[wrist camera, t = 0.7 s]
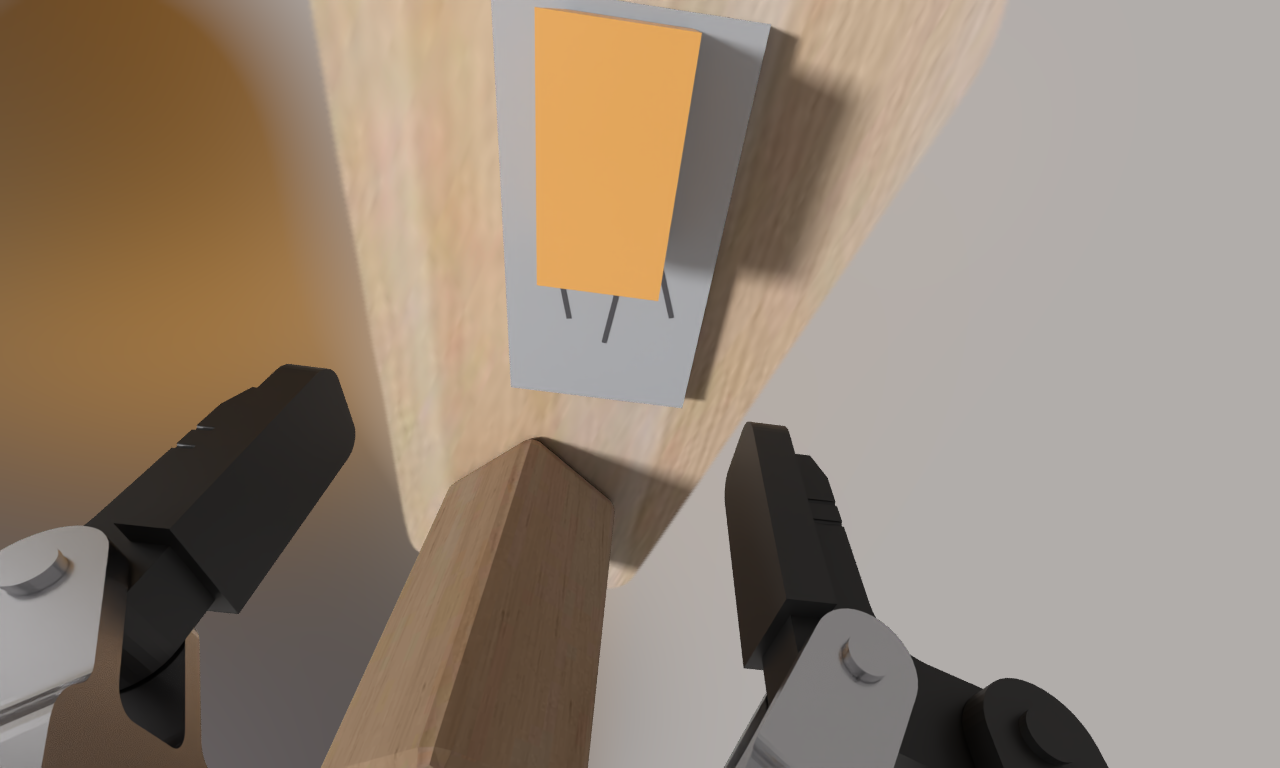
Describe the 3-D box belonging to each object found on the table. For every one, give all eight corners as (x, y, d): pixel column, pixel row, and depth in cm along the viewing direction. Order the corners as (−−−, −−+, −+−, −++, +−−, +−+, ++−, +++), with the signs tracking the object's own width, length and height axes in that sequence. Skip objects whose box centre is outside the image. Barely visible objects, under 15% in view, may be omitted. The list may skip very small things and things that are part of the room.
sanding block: (567, 9, 19) (534, 7, 14) (693, 28, 19) (702, 32, 14) (562, 232, 24) (536, 285, 20) (660, 245, 25) (658, 301, 20)
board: (500, -18, 20) (489, -20, 19) (764, 23, 20) (771, 24, 19) (516, 373, 32) (511, 387, 31) (681, 393, 32) (682, 408, 31)
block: (620, 502, 40) (589, 829, 24) (534, 543, 44) (459, 846, 28) (533, 429, 35) (423, 773, 19) (446, 482, 39) (295, 803, 23)
